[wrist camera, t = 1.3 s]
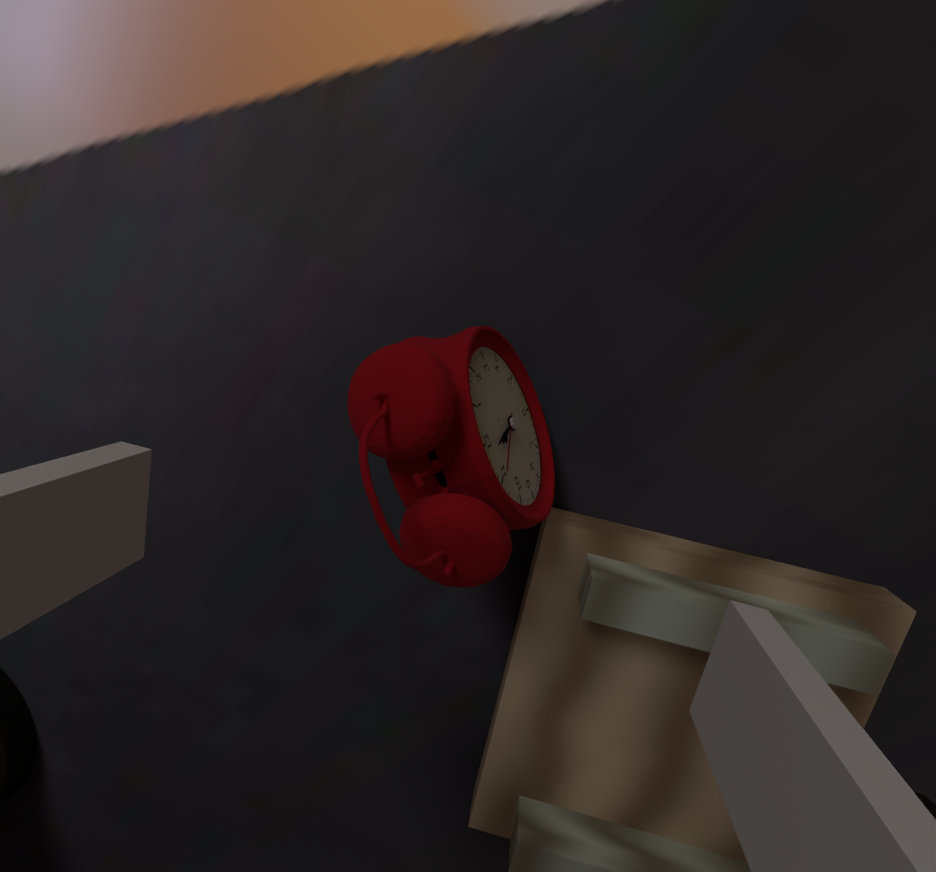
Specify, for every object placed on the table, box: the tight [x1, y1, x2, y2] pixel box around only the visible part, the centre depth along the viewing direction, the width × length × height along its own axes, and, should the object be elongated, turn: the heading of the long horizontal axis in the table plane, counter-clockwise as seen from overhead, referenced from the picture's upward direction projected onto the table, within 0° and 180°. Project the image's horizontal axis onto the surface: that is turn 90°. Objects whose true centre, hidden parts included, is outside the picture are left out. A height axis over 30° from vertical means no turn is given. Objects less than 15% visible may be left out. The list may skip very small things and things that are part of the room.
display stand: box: [468, 507, 916, 872], centre depth 29 cm, size 19×21×6 cm
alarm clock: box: [347, 326, 555, 587], centre depth 22 cm, size 10×6×15 cm, turn 21°
